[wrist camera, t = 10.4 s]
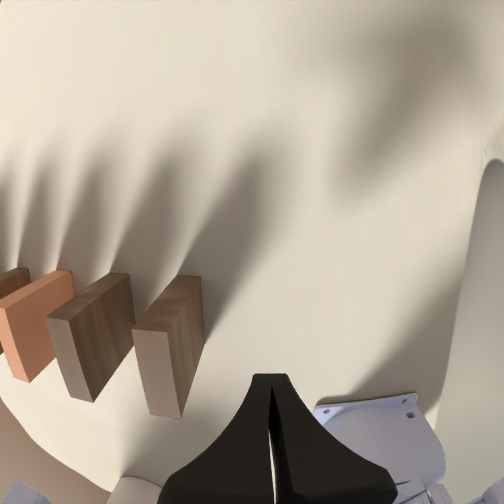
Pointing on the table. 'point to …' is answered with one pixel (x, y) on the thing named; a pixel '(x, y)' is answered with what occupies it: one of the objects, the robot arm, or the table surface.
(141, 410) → the table surface
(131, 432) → the table surface
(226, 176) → the table surface
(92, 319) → the domino
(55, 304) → the domino
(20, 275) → the domino
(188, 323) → the domino
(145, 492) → the coffee cup
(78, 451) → the table surface
